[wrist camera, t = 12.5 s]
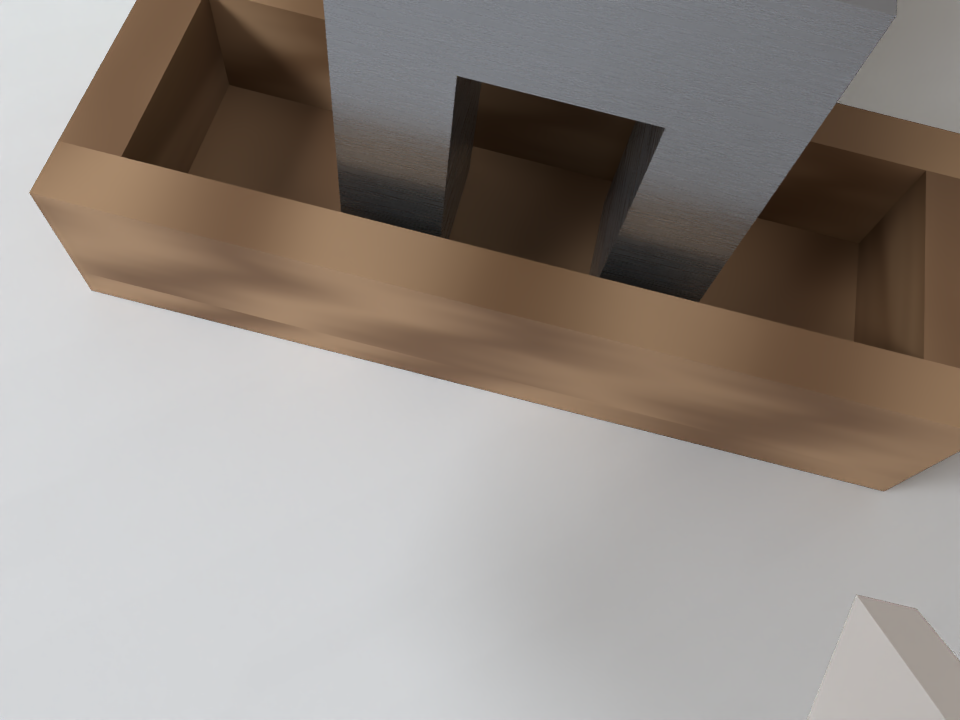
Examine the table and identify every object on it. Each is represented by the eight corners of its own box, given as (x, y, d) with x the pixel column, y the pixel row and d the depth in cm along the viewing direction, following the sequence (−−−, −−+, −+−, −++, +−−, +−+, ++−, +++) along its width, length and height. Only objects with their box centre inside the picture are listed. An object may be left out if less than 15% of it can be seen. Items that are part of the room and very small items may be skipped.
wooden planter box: (91, 290, 24) (29, 192, 19) (204, 59, 27) (172, -64, 23) (883, 491, 23) (988, 435, 19) (892, 232, 27) (982, 139, 23)
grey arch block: (345, 263, 23) (312, -130, 13) (385, 147, 25) (384, -282, 15) (669, 344, 23) (896, 15, 13) (688, 224, 25) (902, -154, 15)
